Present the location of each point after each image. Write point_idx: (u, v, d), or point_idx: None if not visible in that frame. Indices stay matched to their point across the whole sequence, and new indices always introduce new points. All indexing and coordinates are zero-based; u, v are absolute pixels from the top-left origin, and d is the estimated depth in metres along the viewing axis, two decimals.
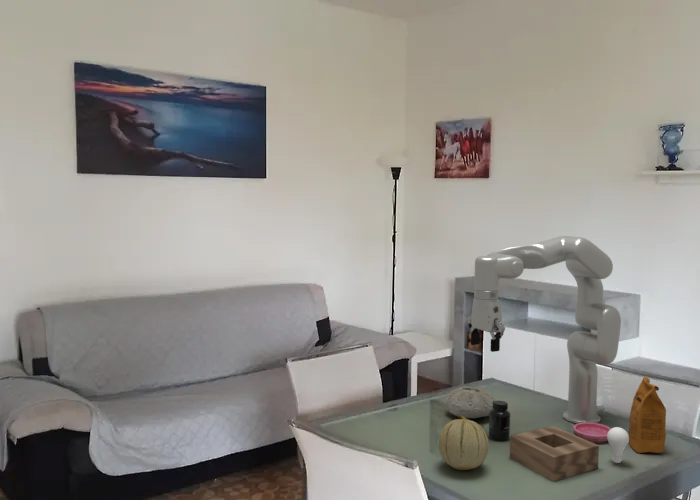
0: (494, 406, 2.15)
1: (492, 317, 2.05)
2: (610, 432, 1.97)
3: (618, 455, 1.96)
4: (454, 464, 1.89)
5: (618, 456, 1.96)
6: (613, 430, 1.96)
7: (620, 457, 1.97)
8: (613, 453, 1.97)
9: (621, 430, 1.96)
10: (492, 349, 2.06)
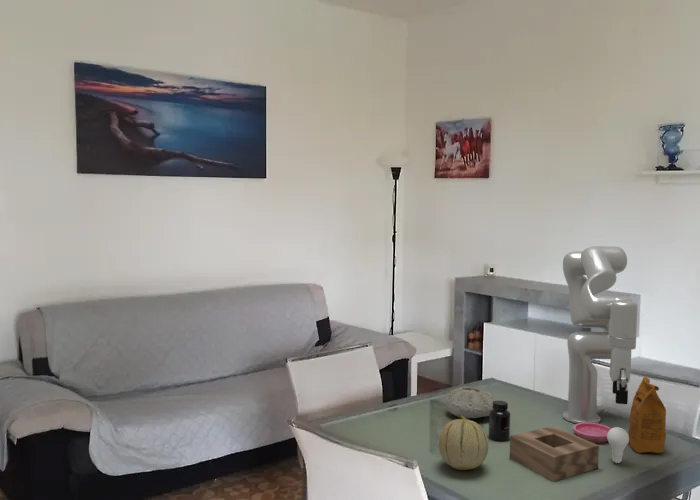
0: (494, 406, 2.15)
1: None
2: (610, 432, 1.97)
3: (618, 455, 1.96)
4: (454, 464, 1.89)
5: (618, 456, 1.96)
6: (613, 430, 1.96)
7: (620, 457, 1.97)
8: (613, 453, 1.97)
9: (621, 430, 1.96)
10: None
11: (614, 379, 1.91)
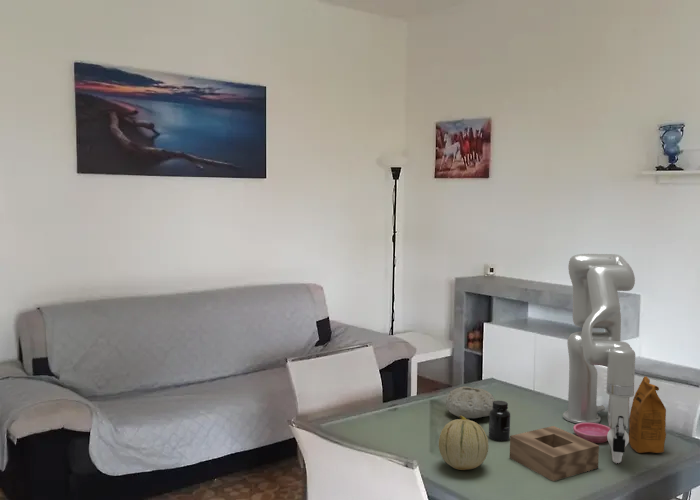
0: (494, 406, 2.15)
1: None
2: (610, 432, 1.97)
3: (618, 455, 1.96)
4: (454, 464, 1.89)
5: (618, 456, 1.96)
6: (613, 430, 1.96)
7: (620, 457, 1.97)
8: (613, 453, 1.97)
9: None
10: None
11: (612, 426, 1.93)
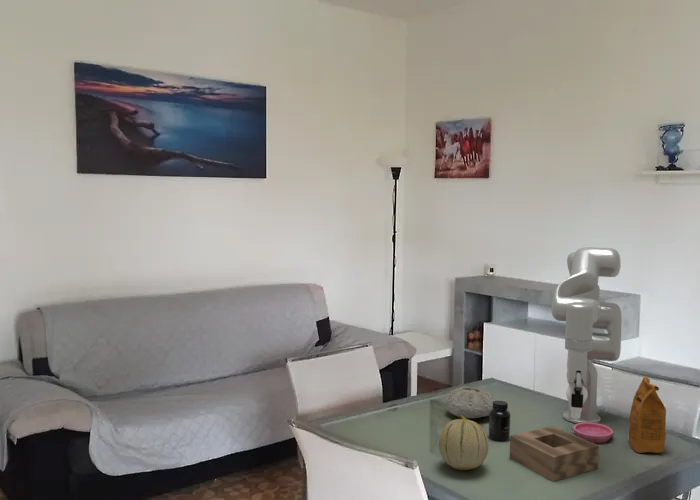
0: (494, 406, 2.15)
1: None
2: (569, 388, 1.95)
3: (577, 411, 1.95)
4: (454, 464, 1.89)
5: (577, 412, 1.95)
6: (571, 386, 1.95)
7: (579, 413, 1.95)
8: (572, 409, 1.95)
9: None
10: None
11: (570, 381, 1.91)
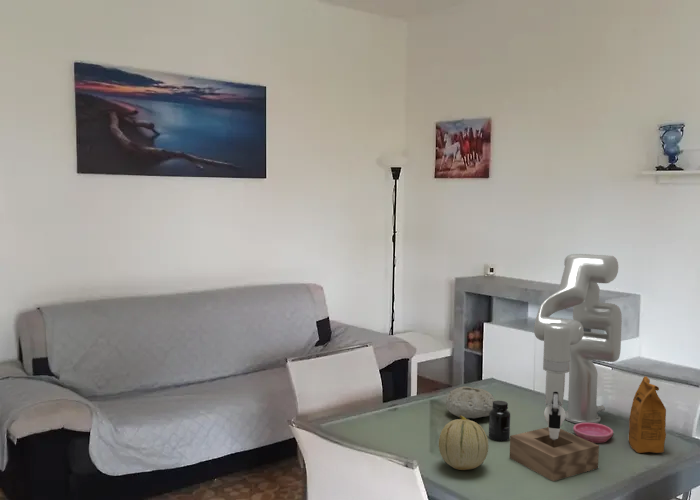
0: (494, 406, 2.15)
1: None
2: (547, 408, 1.96)
3: (554, 431, 1.95)
4: (454, 464, 1.89)
5: (555, 432, 1.95)
6: (549, 407, 1.95)
7: (557, 434, 1.96)
8: (550, 430, 1.96)
9: None
10: None
11: (547, 402, 1.92)
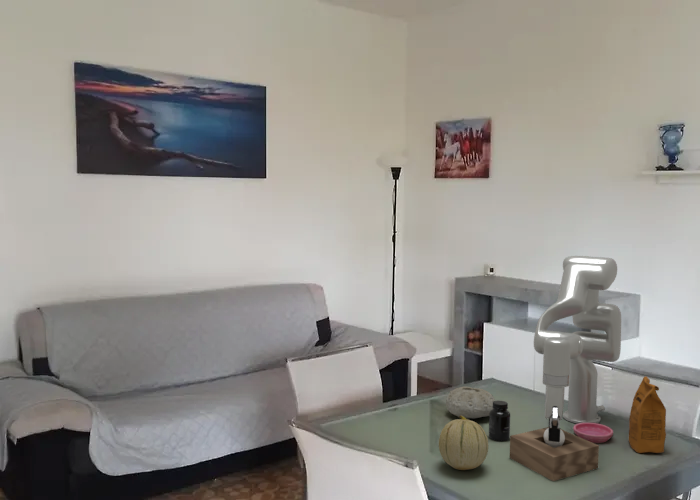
0: (494, 406, 2.15)
1: None
2: (546, 432, 1.97)
3: None
4: (454, 464, 1.89)
5: None
6: None
7: None
8: None
9: None
10: None
11: (547, 416, 1.92)
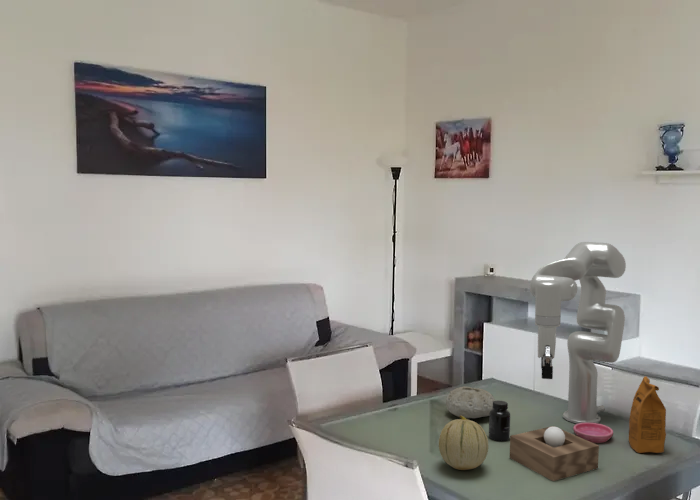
0: (494, 406, 2.16)
1: None
2: (546, 431, 1.97)
3: None
4: (454, 464, 1.89)
5: None
6: (549, 430, 1.97)
7: None
8: None
9: (557, 429, 1.96)
10: None
11: (540, 356, 2.00)
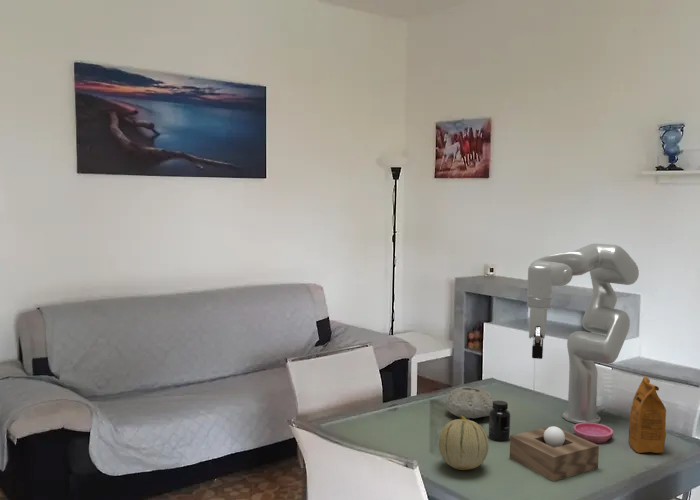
0: (494, 406, 2.15)
1: None
2: (546, 431, 1.97)
3: None
4: (454, 464, 1.89)
5: None
6: (549, 430, 1.97)
7: None
8: None
9: (557, 429, 1.96)
10: None
11: (530, 336, 2.09)
